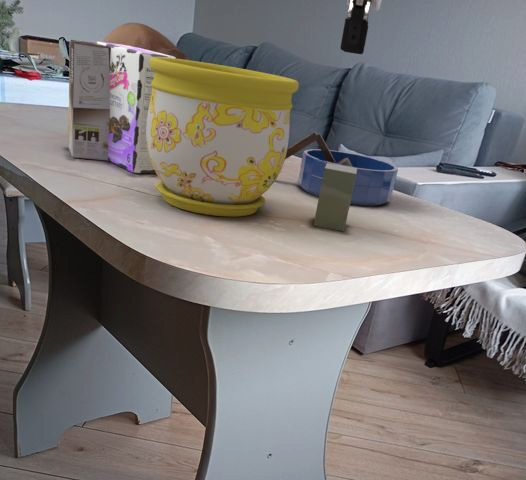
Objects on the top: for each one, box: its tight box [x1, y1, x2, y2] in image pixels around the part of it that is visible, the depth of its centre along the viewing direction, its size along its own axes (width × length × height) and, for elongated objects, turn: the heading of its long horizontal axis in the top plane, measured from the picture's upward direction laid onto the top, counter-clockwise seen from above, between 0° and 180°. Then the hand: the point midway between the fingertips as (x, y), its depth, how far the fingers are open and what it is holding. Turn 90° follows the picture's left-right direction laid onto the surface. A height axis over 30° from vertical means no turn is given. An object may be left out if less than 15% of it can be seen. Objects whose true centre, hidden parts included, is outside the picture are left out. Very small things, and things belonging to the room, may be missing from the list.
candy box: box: [96, 41, 176, 175], centre depth 93 cm, size 14×6×16 cm, turn 38°
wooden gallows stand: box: [285, 130, 353, 167], centre depth 100 cm, size 14×5×9 cm
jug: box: [101, 22, 190, 60], centre depth 112 cm, size 20×20×30 cm
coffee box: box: [68, 39, 111, 162], centre depth 95 cm, size 9×6×16 cm
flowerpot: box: [146, 57, 300, 218], centre depth 78 cm, size 18×18×16 cm
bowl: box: [297, 148, 399, 207], centre depth 100 cm, size 15×15×6 cm
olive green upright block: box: [313, 163, 357, 232], centre depth 80 cm, size 4×4×7 cm
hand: (352, 52), depth 91 cm, fingers open, 9 cm apart
